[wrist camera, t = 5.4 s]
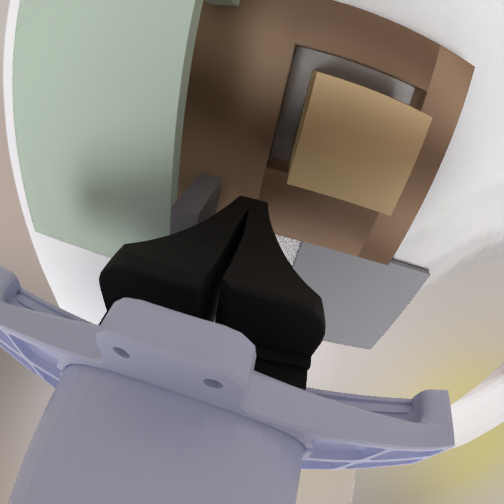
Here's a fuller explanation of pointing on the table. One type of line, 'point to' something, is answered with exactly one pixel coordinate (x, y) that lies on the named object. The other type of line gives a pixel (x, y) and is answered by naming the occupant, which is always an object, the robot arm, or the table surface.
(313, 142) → the block
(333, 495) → the milk
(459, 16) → the table surface
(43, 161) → the cover
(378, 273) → the mat
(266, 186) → the board
